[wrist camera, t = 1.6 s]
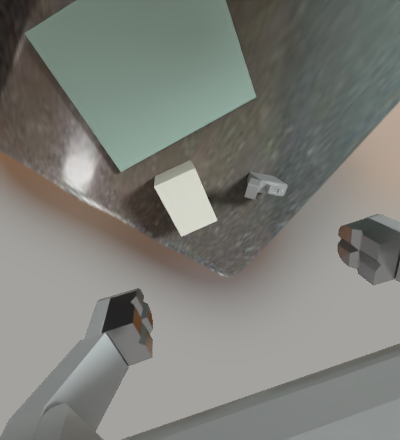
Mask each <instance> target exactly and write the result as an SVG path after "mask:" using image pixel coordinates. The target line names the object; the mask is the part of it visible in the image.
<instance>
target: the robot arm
mask: <svg viewBox="0 0 400 440" xmlns="http://www.w3.org/2000/svg"><path fill="white" fill-rule="evenodd" d="M338 235H339V237H340V238H341V240H340V242H339V243H338V254H339V256H340V258H341V259H342V261H343V262H344V263H345V264H347V265H348V266H349V267H353V268H356V269H357V270H358V274H359V275H361V276H362V277H363V278H364V279H366V280H367V281H368V282H370V283H371V284H372V285H376V284H380V283H383V282H386V281H390V280H393V279H396V280H397V281H399V282H400V222H398V221H396V220H393V219H391V218H388V217H386V216H384V215H380V214H376V215H373V216H370V217H367V218H365V219H362V220H359V221H356V222H353V223H349V224H346V225H343V226H341V227H340V229H339V233H338ZM143 299H144V295H143V294H142V292H141V290H140V289H135V290H131V291H127V292H124V293H120V294H117V295H113V296H110V297H107V298H103V299H100V300H99V301H98V302H97V303H96V306H95V309H94V312H93V315H92V318H91V321H90V324H89V327H88V330H87V333H86V336H85V339H83V340H80V341H79V342H78V343H77V344H76V346H75V347H74V348H73V349H72V350H71V351H70V352H69V353H68V354H67V356H66V357H65V358H64V359H63V360H62V361H61V362H60V363H59V364H58V366H57V367H56V368H55V369H54V370H53V371H52V372H51V373H50V375H49V376H48V377H47V378H46V379H45V380H44V381H43V382H42V383H41V385H40V386H39V387H38V388H37V389H36V390H35V391H34V392H33V393H32V395H31V396H30V397H29V398H28V399H27V400H26V401H25V402H24V404H23V405H22V406H21V407H20V408H19V409H18V410H17V411H16V413H15V414H14V415H13V416H12V417H11V418H10V419H9V421H8V423H7V425H6V427H5V429H4V431H3V433H2V435H1V437H0V440H103V439H102V438H101V437H100V436H99V435H98V434H97V433H96V432H95V431H96V429H97V427H98V425H99V424H100V422H101V420H102V418H103V416H104V414H105V412H106V410H107V408H108V406H109V404H110V402H111V400H112V399H113V397H114V395H115V393H116V391H117V389H118V387H119V385H120V383H121V381H122V379H123V377H124V376H125V374H126V372H127V370H128V366H130V365H133V364H136V363H139V362H141V361H144V360H147V359H150V358H152V344H153V343H152V342H153V340H152V338H151V336H150V333H151V331H152V330H153V320H152V314H151V311H150V308H149V306H148V304H147V303H145V302H143ZM122 440H400V344H397V345H394V346H391V347H388V348H385V349H383V350H380V351H377V352H374V353H371V354H368V355H365V356H362V357H359V358H357V359H354V360H351V361H348V362H345V363H342V364H339V365H336V366H333V367H330V368H328V369H325V370H322V371H319V372H316V373H313V374H310V375H307V376H304V377H301V378H299V379H296V380H293V381H290V382H287V383H284V384H281V385H278V386H275V387H273V388H270V389H267V390H264V391H261V392H258V393H255V394H252V395H249V396H247V397H244V398H241V399H238V400H235V401H232V402H230V403H227V404H224V405H221V406H218V407H215V408H212V409H209V410H206V411H203V412H201V413H197V414H195V415H192V416H189V417H186V418H183V419H180V420H177V421H174V422H171V423H168V424H166V425H163V426H160V427H157V428H154V429H151V430H148V431H146V432H142V433H139V434H137V435H134V436H131V437H128V438H125V439H122Z"/></svg>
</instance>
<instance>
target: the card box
mask: <svg viewBox="0 0 400 440" xmlns="http://www.w3.org/2000/svg"><path fill="white" fill-rule="evenodd" d="M154 188H155V190H156V191H157V193H158V195H159V197H160V199H161V201H162V202H163V204H164V206H165V208H166V210H167V211H168V213H169V215H170V217H171V219H172V221H173V222H174V224H175V226H176V228H177V230H178V231H179V233H180V235H181V237H182V236H184V235H186V234H188V233H191V232H193V231H195V230H198V229H200V228H202V227H204V226H207V225H209V224H211V223H213V222H216V221H217V218H216V216H215V214H214V211H213V209H212V207H211V204H210V202H209V200H208V197H207V195H206V193H205V190H204V188H203V186H202V183H201V181H200V179H199V176H198V174H197V172H196V169H195V167H194V166H193V164H192V162H191V160H189V161H187V162H185V163H183V164H180V165H178V166H176V167H174V168H172V169H170V170H167V171H165V172H163V173H161V174H159V175H157V176H155V182H154Z"/></svg>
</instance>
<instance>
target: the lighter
mask: <svg viewBox="0 0 400 440" xmlns="http://www.w3.org/2000/svg"><path fill="white" fill-rule="evenodd" d="M247 183H248V186H247V190H246V193H245V196H244V197H246V198H250V199H253V200H255V199H256V196H257V193H258V192H259V193H265V194H272V195H278V196H284V194H285V191H286V189H287V184H285V183H284V182H282V181H280V180H279V179H277V178H276V177H274V176H270V175H264V174H259V173H253V172H250V173H249V175H248V179H247Z"/></svg>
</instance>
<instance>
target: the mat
mask: <svg viewBox="0 0 400 440" xmlns="http://www.w3.org/2000/svg"><path fill="white" fill-rule="evenodd" d="M24 34H25V35H26V36H27V38H28V39H29V41H30V42H31V44H32V45H33V47H34V48H35V49H36V51H37V52H38V54H39V55H40V57H41V58H42V59H43V61H44V62H45V64H46V65H47V67H48V68H49V70H50V71H51V72H52V74H53V75H54V77H55V78H56V80H57V81H58V82H59V84H60V85H61V87H62V88H63V90H64V91H65V93H66V94H67V95H68V97H69V98H70V100H71V101H72V103H73V104H74V106H75V107H76V108H77V110H78V111H79V113H80V114H81V116H82V117H83V118H84V120H85V121H86V123H87V124H88V126H89V127H90V129H91V130H92V131H93V133H94V134H95V136H96V137H97V139H98V140H99V141H100V143H101V144H102V146H103V147H104V149H105V150H106V152H107V153H108V154H109V156H110V157H111V159H112V160H113V162H114V163H115V164H116V166H117V167H118V169H119V170H120V172H122V171H124V170H126V169H127V168H129V167H131V166H133V165H135V164H136V163H138V162H140V161H142V160H144V159H145V158H147V157H149V156H151V155H153V154H154V153H156V152H158V151H160V150H162V149H163V148H165V147H167V146H169V145H171V144H173V143H174V142H176V141H178V140H180V139H182V138H183V137H185V136H187V135H189V134H191V133H192V132H194V131H196V130H198V129H200V128H201V127H203V126H205V125H207V124H209V123H210V122H212V121H214V120H216V119H218V118H219V117H221V116H223V115H225V114H227V113H228V112H230V111H232V110H234V109H236V108H238V107H239V106H241V105H243V104H245V103H247V102H248V101H250V100H252V99H254V98H256V95H255V92H254V89H253V86H252V82H251V79H250V76H249V73H248V70H247V66H246V63H245V60H244V57H243V54H242V50H241V47H240V44H239V41H238V38H237V34H236V31H235V28H234V25H233V22H232V18H231V15H230V12H229V9H228V6H227V3H226V0H76V1H74V2H73V3H71V4H69V5H68V6H66V7H65V8H63V9H62V10H60V11H58V12H57V13H55V14H54V15H52V16H51V17H49V18H47V19H46V20H44V21H43V22H41V23H40V24H38V25H36V26H35V27H33V28H32V29H30V30H29V31H27V32H26V33H24Z"/></svg>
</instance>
